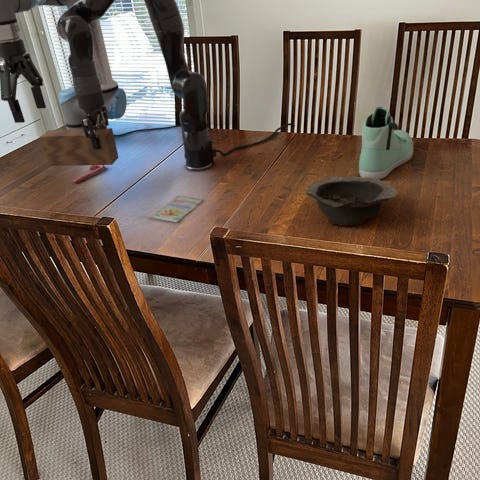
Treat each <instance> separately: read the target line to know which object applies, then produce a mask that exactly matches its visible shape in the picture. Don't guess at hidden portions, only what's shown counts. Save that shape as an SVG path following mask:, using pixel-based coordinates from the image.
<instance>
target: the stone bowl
mask: <svg viewBox="0 0 480 480" xmlns="http://www.w3.org/2000/svg"><path fill="white" fill-rule="evenodd" d="M394 187H395V186H392V185H391V183H388V182H385V181H384V180H382V179H372V178H367V177H361V176H351V175H350V176H348V175H342V176H337V177H335V176H333V177H326V178H323V179H319V180H315V181H312V182H311V183H310V184H308V186H307V189H306V192H304V193H305V195H308V196H309V197H311V198H312V199H314V200H316V202H317V206H318V208H319V210H320V211H321V213H322V214H323V215H324V216H326V217H327V219H328V222H329V223H330V224H332V225H339V226H345V227H349V226H351V225H353V226H359V225H362V224H364V223H365V221H366V219H372V218H374V217H378V216H379V215H380V214H381V209H382V203H384V202H387V201H389V200H391V199H393V198H395V197H397V196H398V190H397V189H396V188H394ZM341 224H342V225H341ZM348 225H349V226H348Z"/></svg>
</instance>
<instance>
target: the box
mask: <svg viewBox="0 0 480 480" xmlns="http://www.w3.org/2000/svg"><path fill="white" fill-rule="evenodd" d="M94 132H95V130H94ZM88 133H89V131H88ZM114 135H115V134H114V131H113V128H112V127H109V128H108V127H107V128H105V129H99V130H98V137H99V141H100V146H101V149H100V150H94V149H93V145H92V141H91V138H86V135H85V132H84V129H73V130H67V129H48V130H47V131H46V132H44V133H43V134H41V135H40V136H39V139H40V142H41V145H42V148H43V152H44V155H45V159H46V162H47V165H48V167H61V166H62V167H64V166H65V167H67V166H69V167H71V166H73V167H75V166H77V167H78V166H92V165H104V166H112V165H114V164H115V163H116V161H117V160H118V159H119V158H120V157H119V153H118V149H117V143H116V140H115V137H114Z"/></svg>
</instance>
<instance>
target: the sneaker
mask: <svg viewBox="0 0 480 480" xmlns="http://www.w3.org/2000/svg"><path fill="white" fill-rule="evenodd" d="M361 129H362V130H361V152H360V155H359V162H358V171H359V177H367V178H372V179H379V180H382V179H384V178H386V177H387V176H389V174H390V173H392V171H393V170H395V169H396V168H398V167H400V166H401V165H404V164H405V163H407V162H408V161H410V160H411V159H412V158H413V154H414V142H413V138H412V136H411V135H410V134H409V133H408V132H407V131H406V130H403V129H399V126H398V123H396V122H394V119H393V116H391V112H390V111H389V109H388V108H387V107H385V106H383V105H377V106H376V107H375V108H374V109H373V113H371V114H369V115H368V116H367V117H366V118H365V120H364V122H363V125H362V128H361Z"/></svg>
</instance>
